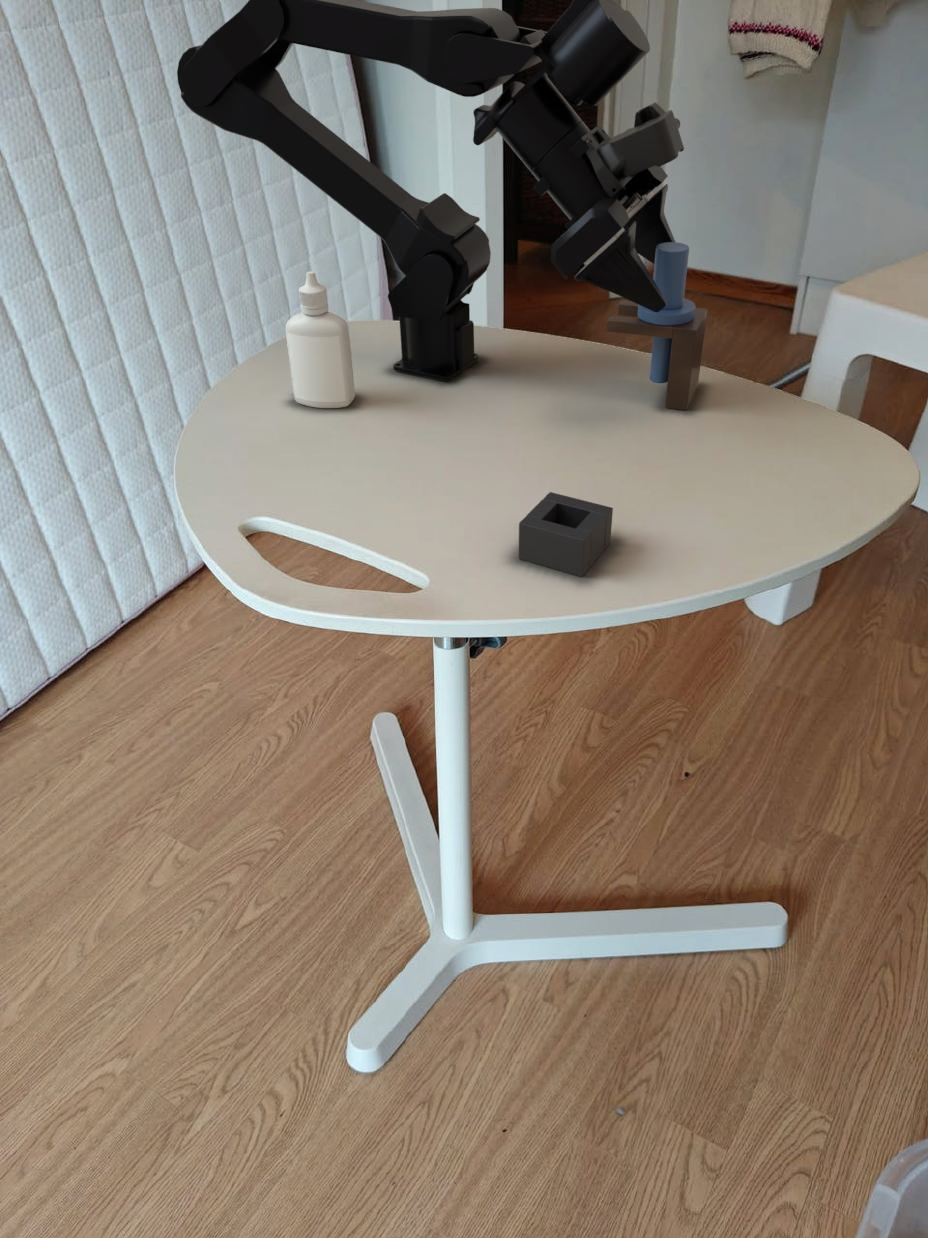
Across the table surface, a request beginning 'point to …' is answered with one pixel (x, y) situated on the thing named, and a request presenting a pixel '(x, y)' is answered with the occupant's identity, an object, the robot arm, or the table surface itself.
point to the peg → (668, 303)
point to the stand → (682, 349)
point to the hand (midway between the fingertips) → (673, 291)
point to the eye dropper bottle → (319, 351)
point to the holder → (565, 533)
